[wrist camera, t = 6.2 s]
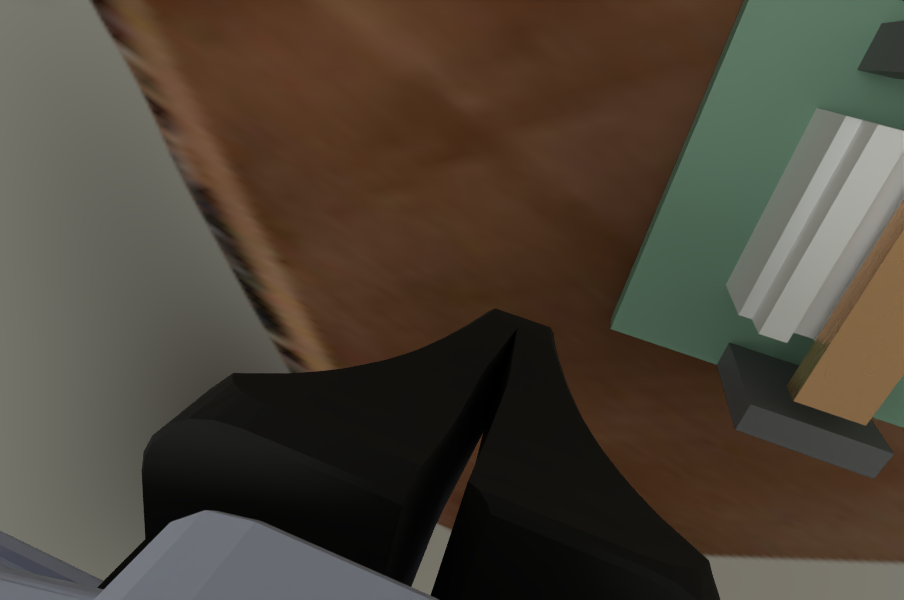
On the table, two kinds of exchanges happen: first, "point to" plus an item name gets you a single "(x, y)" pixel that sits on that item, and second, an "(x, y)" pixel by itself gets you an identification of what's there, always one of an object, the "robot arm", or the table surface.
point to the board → (746, 169)
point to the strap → (860, 338)
